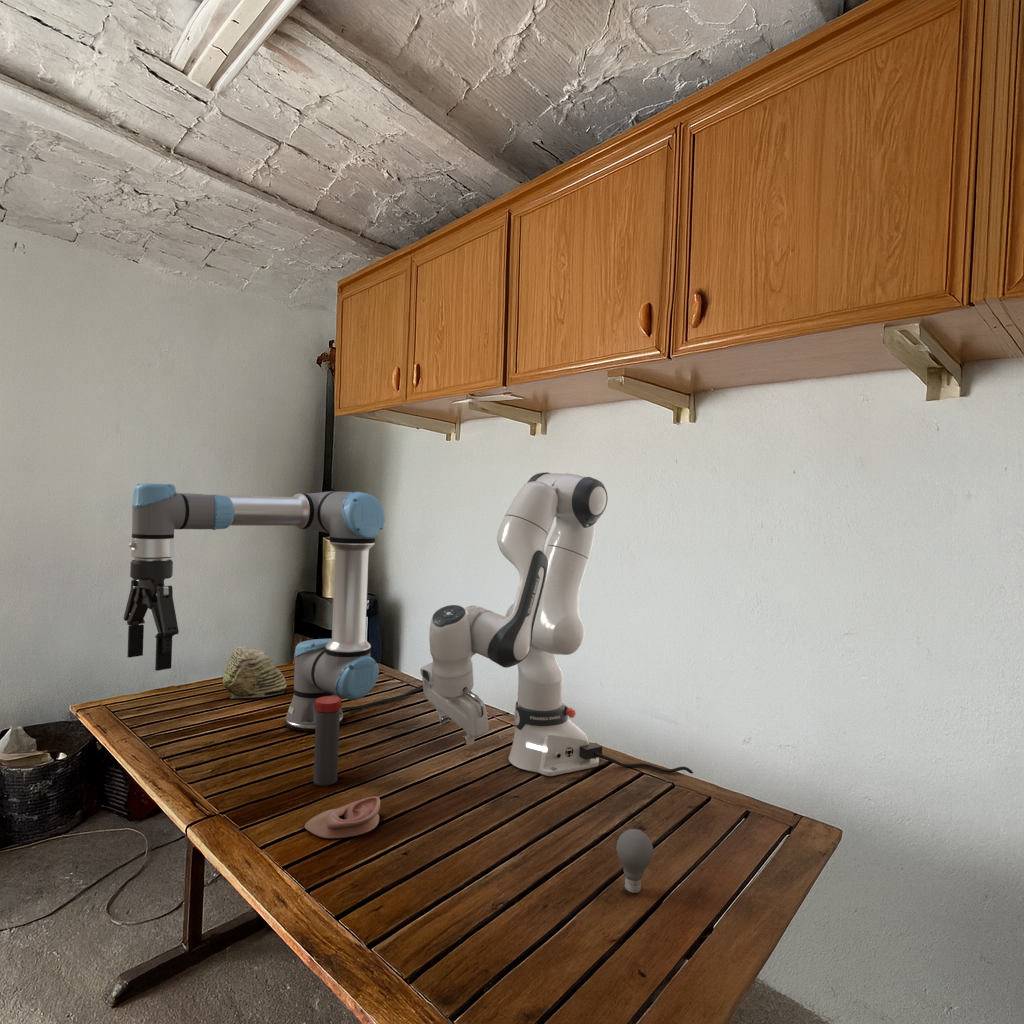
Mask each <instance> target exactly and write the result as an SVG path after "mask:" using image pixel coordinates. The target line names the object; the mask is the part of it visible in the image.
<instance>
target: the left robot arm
mask: <svg viewBox="0 0 1024 1024" xmlns="http://www.w3.org/2000/svg"><path fill="white" fill-rule="evenodd" d="M385 515H386V513H385V511H384V508H383V505H382V503H381V502H380V501H379V500H378V498H377V497H375V495H373V494H370V493H367V492H363V491H362V492H361V491H337V490H336V491H335V490H333V491H332V490H330V491H321V492H311V493H295V494H294V495H293V496H276V495H275V496H274V495H273V496H272V495H248V494H247V495H246V494H244V495H243V494H220V493H219V494H218V493H217V494H216V493H215V494H214V493H189V492H187V493H186V492H177V491H176V486H175V485H174V484H173V483H152V482H139V483H137V484H136V485H135V486H134V488H133V492H132V501H131V520H132V521H131V542H130V543H128V547H129V548H130V549H131V550H130V556H131V558H133V559H132V560H131V561H130V567H129V568H130V571H129V574H130V575H129V576H130V578H131V581H130V590H129V594H128V598H127V603H126V607H125V610H124V615H123V621H124V622H126V624H127V626H128V629H127V630H128V631H127V658H135V657H142V656H144V635H145V634H144V630H145V625H144V624H145V623H146V621H145V619H144V618H145V616H146V615H147V612H148V609H149V610H151V613H152V618H153V620H154V624H155V627H156V631H157V633H156V635H155V636H154V638H155V661H154V663H155V665H154V668H155V669H154V670H155V671H157V672H159V671H164V670H169V669H172V659H173V657H172V655H173V637H175V636H176V635H179V632H180V631H179V625H178V619H177V615H176V614H177V613H176V609H175V603H174V597H173V595H174V593H173V585H165V580H167V579H171V578H172V577H173V575H174V573H173V572H174V561H173V560H172V559H171V558H173V557H174V554H175V553H174V552H175V530H213V531H215V530H224V529H228V528H230V526H233V527H234V526H237V527H238V526H240V527H243V526H246V527H247V526H249V527H250V526H258V527H259V526H268V527H269V526H276V527H277V526H282V527H284V526H285V527H286V526H287V527H288V526H289V527H290V526H291V527H293V528H294V529H296V530H308V531H309V530H310V531H316V532H319V533H325V534H329V544H330V545H331V546H332V547H333V548H334V550H335V551H334V572H333V573H334V577H333V599H332V625H331V626H332V627H331V638H317V639H308V640H304V641H300V642H299V643H297V645H296V646H295V650H294V655H293V657H294V672H293V673H294V674H293V695H292V696H293V697H292V699H291V702H290V704H289V707H288V709H287V713H286V715H285V726H286V728H287V729H289V730H291V731H294V732H295V731H296V732H301V733H315V729H316V710H315V702H316V699H317V698H320V697H324V696H336V697H340V698H341V699H342V700H343V699H344V700H348V701H349V700H350V701H357V700H360V699H362V698H364V697H365V696H367V695H368V694H370V692H371V690H372V689H374V687H375V685H376V683H377V682H378V678H379V674H380V672H379V671H380V670H379V669H380V668H379V665H378V663H377V662H376V660H375V659H374V657H371V652H372V649H371V648H372V644H371V643H370V642H368V640H367V639H366V631H367V607H368V606H367V605H368V604H367V602H368V582H369V581H368V579H369V555H370V553H369V552H370V550H371V548H372V547H374V545H375V544H376V536H378V535H379V534H380V533H381V530H383V528H384V526H385V522H386V521H385V520H386V516H385ZM421 689H423V684H421V685H418V686H417V687H415V688H413V689H411V690H409V691H407V692H405V693H402V694H400V695H396V696H392V697H387V698H384V699H380V700H376V701H372V702H368V703H364V704H360V705H353V706H344V707H343V706H341V709H340V724H339V726H340V725H342V723H343V722H344V713H343V711H351V710H359V709H364V708H365V709H366V708H369V707H372V706H376V705H379V704H383V703H388V702H393V701H397V700H398V699H399V700H400V699H402V698H405V697H407V696H409V695H412V694H414V693H415V692H418V691H419V690H421Z"/></svg>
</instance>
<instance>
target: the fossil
mask: <svg viewBox="0 0 1024 1024" xmlns="http://www.w3.org/2000/svg"><path fill="white" fill-rule="evenodd" d="M222 676H223V677H222V685H223V687H224V688H225V690H226V691H228V693H229V698H230V699H250V698H264V697H271V696H275V695H281V694H284V693H285V691H286V689H287V687H288V686H287V680H286V678H285V676H284V674H283V673H282V672H281V669H279V668H278V667H277V665H276V663H275V662H274V660H273V659H272V658H271V657H270V656H269V655H268V654H267V653H266V652H265V650H264V649H263V648H260V647H258V648H251V647H247V646H246V647H245V646H238V647H237V648H236V649H235V650H233V651H232V653H231V656H230V657H229V659H228V660H227V663H226V666H225V668H224V671H223V675H222Z"/></svg>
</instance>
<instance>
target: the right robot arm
mask: <svg viewBox="0 0 1024 1024" xmlns="http://www.w3.org/2000/svg"><path fill="white" fill-rule="evenodd" d="M608 497H609V496H608V492H607V488H606V486H605V484H604V483H603V482H602V481H601V480H599V479H597V478H594V477H591V476H583V475H579V474H578V475H577V474H574V473H555V472H553V473H551V472H548V471H547V472H545V471H544V472H539V473H535V474H534V475H532V476H531V477H530V478H529V479H528V480H527V482H526V483H524V484H523V486H522V487H521V488H520V490H519V491H518V492H517V494H516V495H515V496H514V498H513V500H512V501H511V503H510V505H509V507H508V508H507V510H506V513H505V514H504V517H503V518H502V521H501V523H500V525H499V528H498V530H497V535H496V542H497V546H498V549H499V551H500V552H501V554H502V555H503V556H504V558H505V559H506V560H507V561H509V562H510V564H511V565H513V566H514V567H515V569H516V570H517V572H518V575H519V584H518V588H517V591H516V594H515V599H514V602H513V603H512V604H511V605H510V606H509V607H508V609H507V611H506V613H505V615H502V614H499V613H497V612H494V611H492V610H490V609H487V608H484V607H481V606H478V605H470V606H466V607H463V606H462V605H457V604H450V605H445V606H442V607H440V608H439V609H437V610H435V612H434V613H433V614H432V617H431V620H430V624H429V634H428V635H429V652H430V655H431V658H432V662H430V663H427V664H426V665H424V666H422V667H420V676H421V677H422V678H421V679H422V681H421V682H422V685H423V688H422V690H423V695H424V697H425V699H426V701H428V702H430V703H431V704H432V705H433V706H434V707H435V711H436V713H437V714H438V718H439V723H440V724H442V726H446V725H448V724H450V721H453V722H454V723H455V724H456V725H458V726H459V727H460V728H461V729H463V730H464V731H465V733H466V735H464V736H463V743H465V745H467V746H468V747H470V746H472V745H473V744H474V743H475V739H477V738H479V737H481V736H483V735H484V734H486V733H487V732H488V731H489V729H490V728H489V727H490V726H489V717H488V711H487V707H486V704H485V702H484V701H483V699H481V698H480V697H479V696H478V695H477V694H476V693H474V692H473V691H472V689H473V688H474V686H475V681H474V663H473V660H472V658H473V656H474V655H476V654H478V655H479V656H482V657H484V658H486V659H489V660H490V661H492V662H493V663H495V664H496V665H498V666H500V667H502V668H504V669H505V668H506V669H507V668H511V667H515V666H516V665H517V700H516V702H515V709H514V727H515V728H514V735H513V740H512V743H511V748H510V751H509V754H508V757H507V758H508V762H509V763H510V764H511V765H512V766H514V767H516V768H518V769H521V770H525V771H528V772H533V773H538V774H540V775H544V776H547V777H554V776H558V775H564V774H569V773H573V772H578V771H582V770H588V769H593V768H597V767H599V765H600V758H602V759H604V760H607V761H609V762H611V763H614V764H616V765H617V766H621V767H622V768H623V767H624V768H637V767H639V768H640V767H641V768H643V767H644V768H649V769H652V770H655V771H658V772H661V773H666V774H667V773H669V774H672V773H677V772H679V771H686V772H688V773H689V774H694V772H693V770H692V769H691V768H689V767H687V766H678V767H675V768H663V767H659V766H656V765H653V764H650V763H646V762H645V763H644V762H637V763H636V762H635V763H625V762H621V761H618V760H617V759H615V758H613V757H610V756H607V755H605V754H603V746H602V745H601V744H600V743H597V742H592V743H590V741H589V737H588V735H587V734H586V733H585V732H584V730H582V729H581V728H580V727H579V726H578V725H576V724H575V723H574V722H573V721H572V720H570V718H571V719H573V718H575V716H576V714H577V713H576V711H575V709H573V708H572V707H569V706H568V705H566V704H564V703H563V686H564V675H563V671H562V669H561V667H560V665H559V663H558V661H557V657H556V655H560V656H569V655H572V654H574V653H576V652H577V651H579V649H580V648H581V647H582V645H583V642H584V639H585V635H586V633H585V632H586V630H585V625H584V622H583V621H582V619H581V615H580V605H579V604H580V591H581V586H582V583H583V579H584V576H585V572H586V570H587V566H588V562H589V560H590V556H591V553H592V549H593V544H594V540H595V533H596V523H597V522H598V520H600V518H601V517H602V515H603V514H604V512H605V511H606V508H607V505H608V500H609V499H608ZM554 520H555V526H554V528H553V530H552V532H551V534H550V537H549V533H550V531H551V529H552V526H553V523H554ZM548 537H549V540H548V542H547V538H548ZM546 542H547V545H546ZM545 545H546V547H545Z"/></svg>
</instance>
